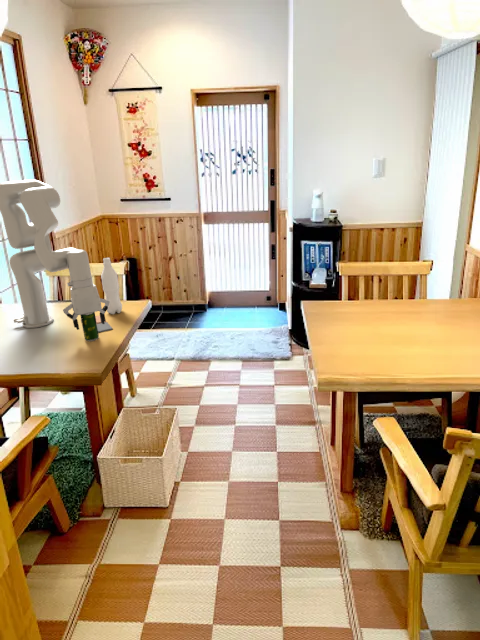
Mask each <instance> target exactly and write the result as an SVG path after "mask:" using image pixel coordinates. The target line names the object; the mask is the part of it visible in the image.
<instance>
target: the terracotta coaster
mask: <svg viewBox="0 0 480 640" xmlns="http://www.w3.org/2000/svg"><path fill="white" fill-rule="evenodd" d="M95 317H96V323H97V324H100V323H101V319H100V314H99V315H95ZM80 322H81V323H82V321H81V320H80ZM105 322H107V320H106V321H104V323H105Z"/></svg>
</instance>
